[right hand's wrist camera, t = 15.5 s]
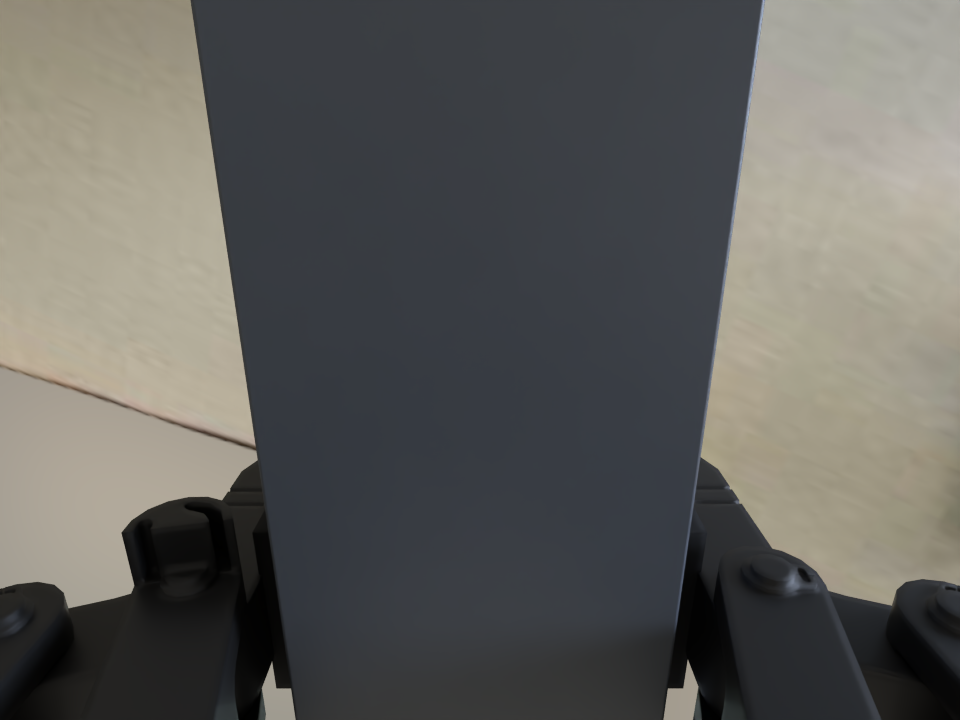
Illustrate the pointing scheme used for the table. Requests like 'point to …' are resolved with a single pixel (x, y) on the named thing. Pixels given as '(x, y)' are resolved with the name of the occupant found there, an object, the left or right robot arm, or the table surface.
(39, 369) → the table surface
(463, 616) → the post
